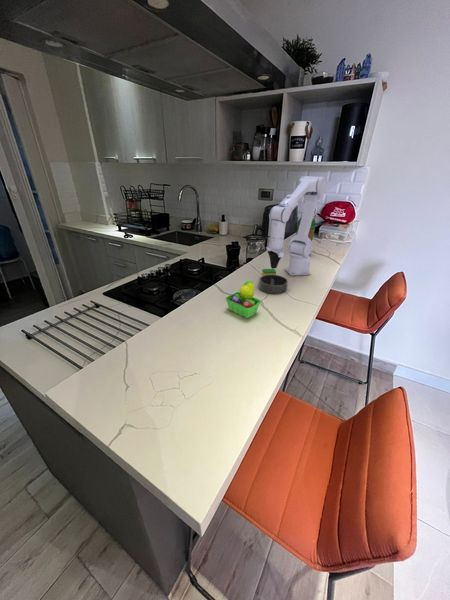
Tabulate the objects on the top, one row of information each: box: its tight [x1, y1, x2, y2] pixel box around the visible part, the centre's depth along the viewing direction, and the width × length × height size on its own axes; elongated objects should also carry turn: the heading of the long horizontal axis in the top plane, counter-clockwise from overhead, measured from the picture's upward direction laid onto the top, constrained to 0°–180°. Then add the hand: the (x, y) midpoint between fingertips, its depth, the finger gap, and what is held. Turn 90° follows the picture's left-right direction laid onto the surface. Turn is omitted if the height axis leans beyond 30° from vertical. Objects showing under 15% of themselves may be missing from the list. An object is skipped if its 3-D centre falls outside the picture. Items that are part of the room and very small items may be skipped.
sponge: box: [261, 268, 277, 277], centre depth 121 cm, size 4×6×4 cm
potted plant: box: [295, 217, 317, 243], centre depth 149 cm, size 11×11×28 cm
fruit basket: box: [225, 280, 262, 319], centre depth 93 cm, size 11×9×11 cm
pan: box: [258, 274, 289, 295], centre depth 113 cm, size 12×12×4 cm
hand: (273, 267), depth 112 cm, fingers closed
